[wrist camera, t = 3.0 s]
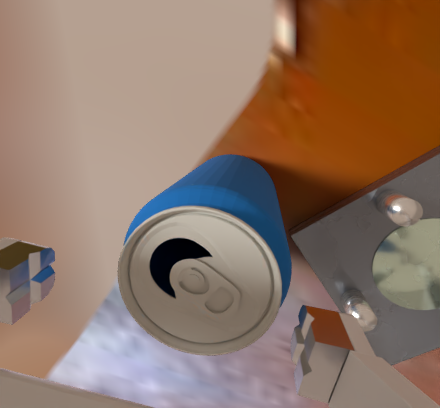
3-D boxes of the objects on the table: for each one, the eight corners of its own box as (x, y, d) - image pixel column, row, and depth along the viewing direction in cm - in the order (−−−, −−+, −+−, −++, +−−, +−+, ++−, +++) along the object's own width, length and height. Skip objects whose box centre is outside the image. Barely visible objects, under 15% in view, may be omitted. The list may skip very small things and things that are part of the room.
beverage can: (224, 134, 20) (173, 149, 8) (295, 191, 20) (340, 281, 9) (172, 202, 22) (74, 291, 10) (238, 253, 22) (214, 394, 11)
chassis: (554, 287, 19) (616, 322, 16) (373, 357, 23) (393, 399, 19) (473, 126, 17) (525, 127, 14) (288, 230, 21) (294, 250, 17)
